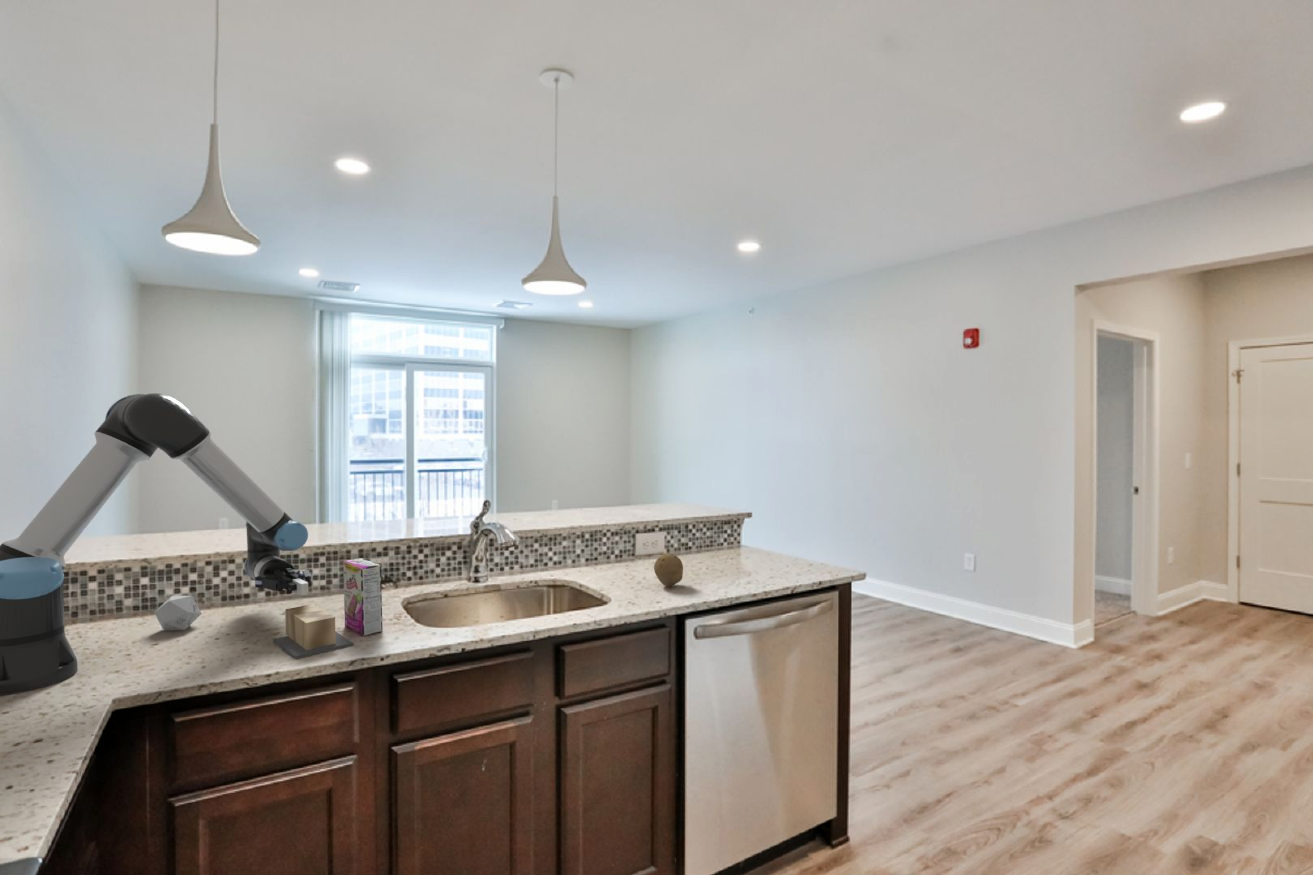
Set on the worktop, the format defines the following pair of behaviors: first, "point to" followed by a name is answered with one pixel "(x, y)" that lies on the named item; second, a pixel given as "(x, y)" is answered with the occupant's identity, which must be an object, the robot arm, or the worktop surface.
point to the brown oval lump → (668, 569)
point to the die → (177, 613)
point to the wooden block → (310, 626)
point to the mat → (300, 652)
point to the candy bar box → (362, 596)
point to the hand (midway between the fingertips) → (304, 589)
